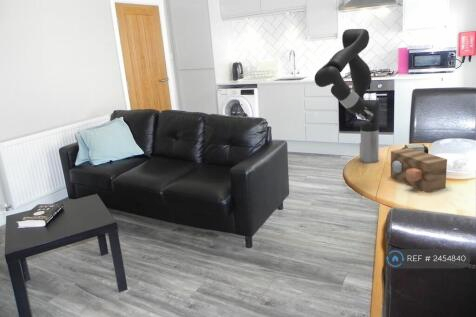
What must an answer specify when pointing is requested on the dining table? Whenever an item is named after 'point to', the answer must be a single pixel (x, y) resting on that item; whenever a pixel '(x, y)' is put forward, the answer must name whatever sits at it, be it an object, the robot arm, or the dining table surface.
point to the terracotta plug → (413, 174)
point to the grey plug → (397, 166)
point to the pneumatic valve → (417, 147)
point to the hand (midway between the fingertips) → (374, 123)
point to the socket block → (428, 163)
